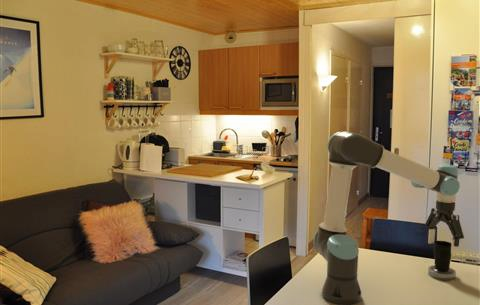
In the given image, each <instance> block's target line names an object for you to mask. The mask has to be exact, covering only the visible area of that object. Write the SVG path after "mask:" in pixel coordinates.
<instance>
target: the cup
mask: <svg viewBox="0 0 480 305" xmlns="http://www.w3.org/2000/svg"><path fill="white" fill-rule="evenodd" d="M451 245H452V242H450V241H445V240H434V243H433V255H434V265H435V270H437V271H440V272H448V271H449V268H451V266H450V265H451V259H452V254H451Z"/></svg>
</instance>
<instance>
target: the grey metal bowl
mask: <svg viewBox="0 0 480 305" xmlns="http://www.w3.org/2000/svg"><path fill="white" fill-rule="evenodd" d="M427 271H428V272H427V275H428V276H429V277H431V278H433V279H436V280H438V281H445V282H446V281H447V282H448V281H449V282H450V281H454V280H455V279H456V276H457V275H456V274H457V272H456V270H455V269H453V268H451V267H449V271H448V272H440V271H437V270H435V264H434V265H430V266H429V267H428V269H427Z"/></svg>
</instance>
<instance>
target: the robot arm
mask: <svg viewBox="0 0 480 305" xmlns="http://www.w3.org/2000/svg"><path fill="white" fill-rule="evenodd" d="M327 150H328V153H329V156H328V157H329V159H328V163H329V165H330V166H331V168H330V169H331V170H330V176H329V183H328V190H327V194H326V195H327V196H326V203H325V210H324V215H323V216H324V217H323V221H322V222H321V223H319V224H318V230H317V231H316V232H315V233H314V236H313V245H314V248H315V249H316V251H317V252H318V254H319V256H322V257H323V259H324V260H325V261H326V263H327V264H326V265H327V266H326V278H325V280H324V283H323V286H322V288H321V290H322V291H321V295H322V297H323V299H324V300H326V301H328V302H329V303H333V304H336V305H354V304H357V303H359V302H361V300H362V290H361V286H360V283H359V280H358V271H359V270H358V268H359V266H358V265H359V264H358V263H359V251H360V250H359V244H358V241H357V240H356V239H355V238H354V237H352V236H349V235H347V234H348V229H347V228H346V226H345V221H346V214H347V208H348V202H349V195H350V188H351V182H352V176H353V170H354V169H355V168H357V167H358V164H359V165H362V166H366V167H368V168H370V169H374V168H377V169H380V170H383V171H385V172H388V173H390V174H392V175H395V176H398V177H400V178H402V179H405V180H406V181H407V180H408V181H409V182H411V186H413V187H414V188H416V189H424V188H425V189H427V190H430V191H434V192H436V198H435V199H436V202H435V207H432V208H431V210H430V214H429V216H428V217H427V219H426V221H425V223H424V226H425V227H427V229H428V230H427V231H428V232H427V235H428V237H427V238H428V241H427V243H428V244H429V245H431V244H434V242H435V236H436V228H435V227H436V226H437V225H438V224H439V223H440V222H442V223H445V224H446V225H447V226H448V229H449V231H450V232H451V235H452V238H451V243H452V245H451V255H453V254H454V255H455V254H458V251H459V250H458V248H459V246H460V240H461V239H465V235H464V232H463V229H462V224H461V222H460V215H458V214H454V212H455V210H456V198H457V193H458V192H459V191H460V187H461V185H460V181H459V180H458V176H459V175H458V174H459V172H458V167H457V166H455V165H452V164H451V165H450V164H440V165H439V166H438V169H436V170H435V169H433V168H430V167H427V166H426V165H423V164H421V163H419V162H416V161H413V160H411V159H409V158H407V157H405V156H402V155H399V154H397V153H396V152H392V151H389V150H387V149H385V147H384V145H382V144H379V143H377V142H375V141H373V139H370V138H369V137H366V136H364V135H363V134H361V133H357V132H356V133H355V132H351V131H347V130H346V131H344V130H342V131H338V132H335V133H334V134H332V135H331V136H330V138H329V139H328V141H327Z"/></svg>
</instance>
